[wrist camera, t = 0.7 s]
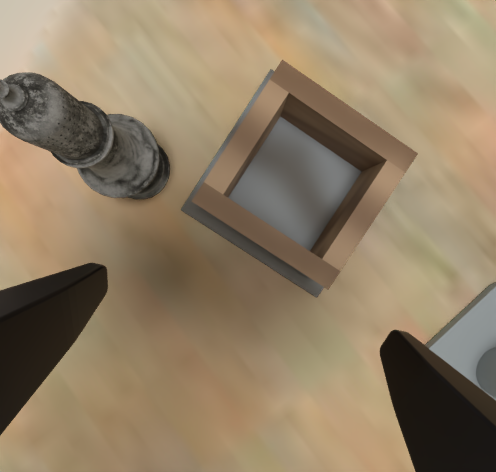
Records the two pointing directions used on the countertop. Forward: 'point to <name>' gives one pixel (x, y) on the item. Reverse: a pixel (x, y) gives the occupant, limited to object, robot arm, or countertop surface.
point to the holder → (299, 179)
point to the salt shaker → (84, 137)
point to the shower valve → (472, 341)
